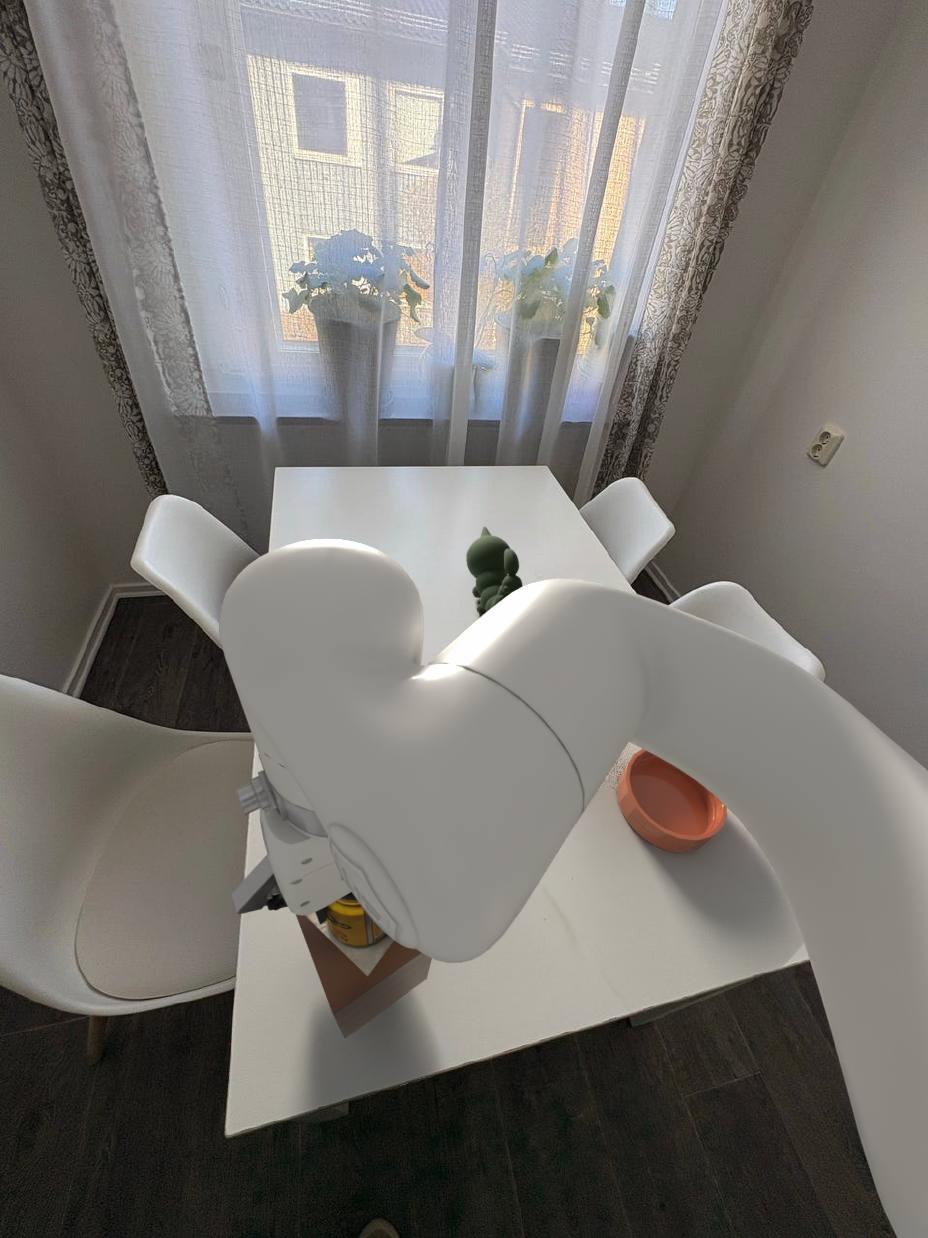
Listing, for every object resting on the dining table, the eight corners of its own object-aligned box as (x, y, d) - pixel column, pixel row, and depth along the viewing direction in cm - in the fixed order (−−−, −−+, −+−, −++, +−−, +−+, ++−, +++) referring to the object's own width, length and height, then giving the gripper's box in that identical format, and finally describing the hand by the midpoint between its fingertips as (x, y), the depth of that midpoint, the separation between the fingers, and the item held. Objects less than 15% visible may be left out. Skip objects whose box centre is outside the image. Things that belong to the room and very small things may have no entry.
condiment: (304, 915, 44) (284, 863, 35) (373, 837, 49) (370, 775, 40) (367, 977, 41) (362, 937, 33) (433, 887, 46) (443, 832, 38)
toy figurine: (522, 645, 99) (499, 555, 114) (546, 576, 84) (516, 484, 100) (475, 647, 97) (458, 556, 113) (490, 577, 83) (468, 484, 98)
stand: (427, 978, 58) (436, 942, 47) (344, 1039, 54) (333, 1015, 43) (387, 896, 64) (386, 846, 53) (309, 945, 59) (290, 902, 48)
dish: (732, 820, 76) (747, 807, 73) (668, 873, 70) (682, 860, 66) (659, 745, 84) (670, 730, 81) (596, 786, 77) (605, 772, 74)
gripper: (183, 924, 21) (260, 1002, 34) (515, 743, 29) (476, 862, 41) (147, 777, 25) (228, 895, 38) (446, 653, 33) (430, 786, 45)
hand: (358, 877), depth 39 cm, fingers closed on condiment, 6 cm apart
